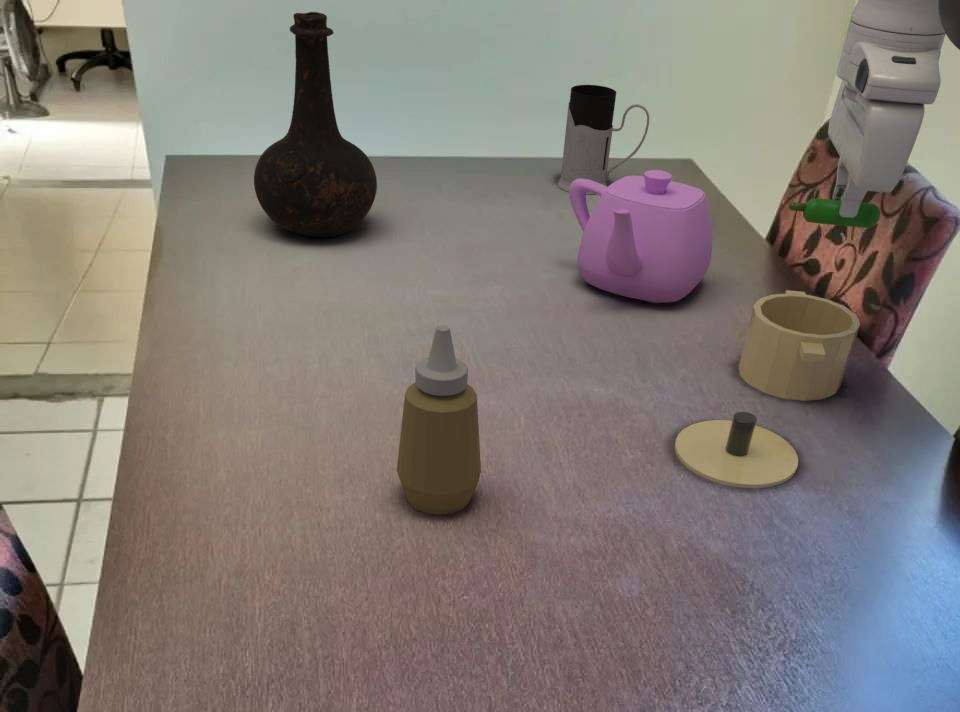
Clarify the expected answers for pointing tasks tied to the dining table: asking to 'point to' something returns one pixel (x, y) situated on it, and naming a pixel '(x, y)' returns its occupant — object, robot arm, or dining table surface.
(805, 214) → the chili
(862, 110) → the robot arm
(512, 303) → the dining table surface
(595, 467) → the dining table surface
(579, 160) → the glass holder
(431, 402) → the squeeze bottle
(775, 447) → the lid
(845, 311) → the pot
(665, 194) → the teapot
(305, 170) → the glass bottle
